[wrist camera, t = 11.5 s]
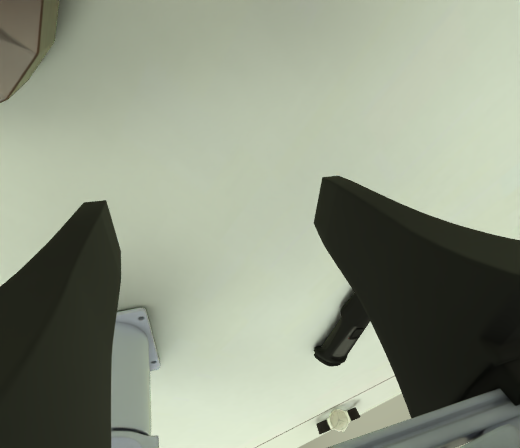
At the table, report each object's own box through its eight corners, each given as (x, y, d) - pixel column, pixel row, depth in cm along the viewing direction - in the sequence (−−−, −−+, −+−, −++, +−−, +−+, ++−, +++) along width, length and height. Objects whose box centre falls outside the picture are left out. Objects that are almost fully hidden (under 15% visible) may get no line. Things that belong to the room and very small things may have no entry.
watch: (353, 399, 56) (365, 421, 53) (354, 408, 59) (364, 430, 56) (313, 416, 55) (322, 439, 52) (315, 425, 58) (324, 447, 55)
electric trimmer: (391, 260, 34) (410, 282, 32) (334, 349, 42) (345, 371, 40) (363, 259, 33) (381, 282, 30) (309, 351, 41) (320, 375, 38)
